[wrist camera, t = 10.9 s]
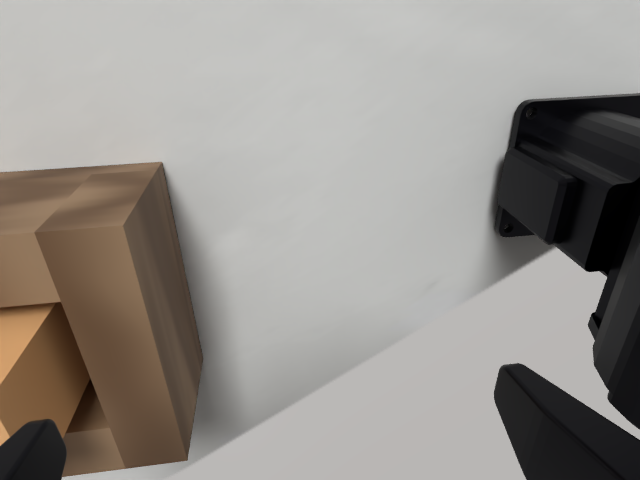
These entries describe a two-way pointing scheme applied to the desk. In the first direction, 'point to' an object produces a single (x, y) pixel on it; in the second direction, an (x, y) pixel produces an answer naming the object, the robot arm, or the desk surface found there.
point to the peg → (38, 367)
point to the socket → (109, 304)
